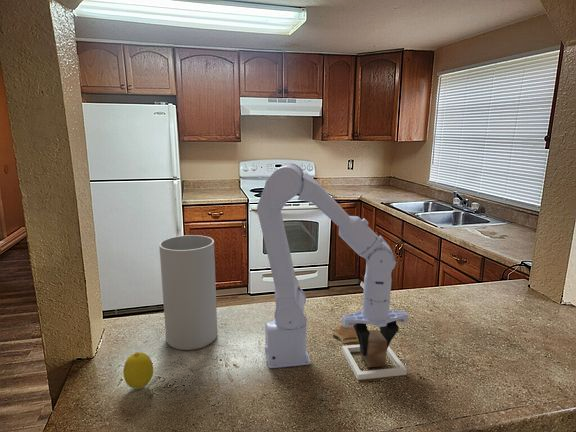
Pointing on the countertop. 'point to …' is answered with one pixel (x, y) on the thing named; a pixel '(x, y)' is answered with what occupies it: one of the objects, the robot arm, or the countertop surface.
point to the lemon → (138, 370)
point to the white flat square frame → (373, 373)
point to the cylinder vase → (189, 291)
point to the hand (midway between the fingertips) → (373, 352)
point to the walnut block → (375, 349)
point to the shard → (346, 334)
